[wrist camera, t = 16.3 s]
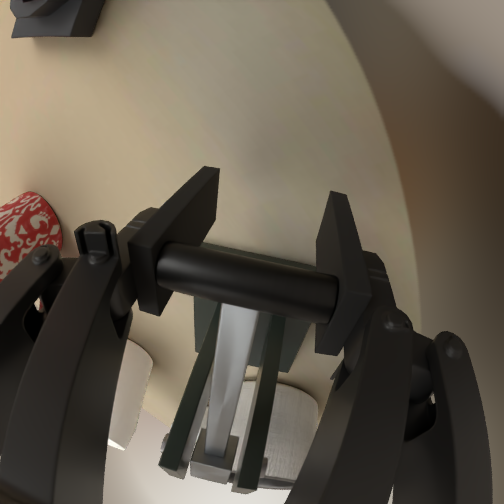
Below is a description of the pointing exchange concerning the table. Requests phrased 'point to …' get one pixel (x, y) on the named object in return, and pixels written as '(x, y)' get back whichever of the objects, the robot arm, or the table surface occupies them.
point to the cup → (129, 394)
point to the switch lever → (238, 327)
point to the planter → (280, 433)
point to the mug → (25, 230)
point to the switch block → (55, 17)
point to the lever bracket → (270, 363)
